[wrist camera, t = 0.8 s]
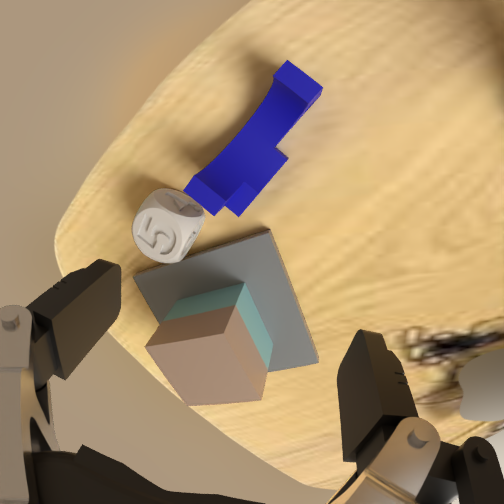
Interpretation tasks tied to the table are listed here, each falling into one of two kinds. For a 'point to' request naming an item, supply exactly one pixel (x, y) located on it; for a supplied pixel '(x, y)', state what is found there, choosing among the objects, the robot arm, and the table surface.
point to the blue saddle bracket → (255, 146)
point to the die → (167, 225)
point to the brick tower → (225, 321)
